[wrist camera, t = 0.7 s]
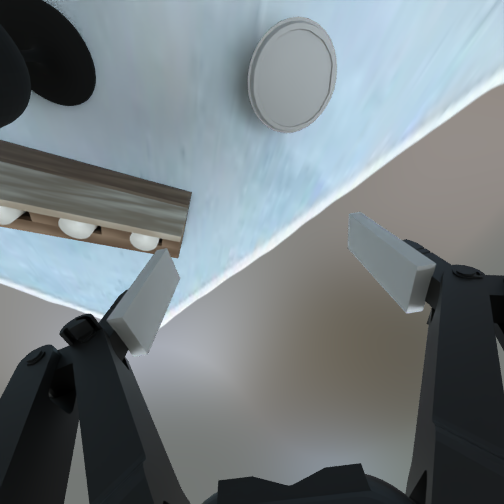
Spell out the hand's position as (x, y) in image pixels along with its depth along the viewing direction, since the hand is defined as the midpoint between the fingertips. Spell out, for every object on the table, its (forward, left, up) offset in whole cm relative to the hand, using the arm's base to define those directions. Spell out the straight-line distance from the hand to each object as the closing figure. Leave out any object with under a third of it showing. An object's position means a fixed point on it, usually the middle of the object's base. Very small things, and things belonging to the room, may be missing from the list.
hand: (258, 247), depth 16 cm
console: (+17, -22, -27) cm, 39 cm away
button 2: (+18, -12, -23) cm, 31 cm away
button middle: (+18, -22, -23) cm, 36 cm away
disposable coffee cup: (-10, +2, -28) cm, 29 cm away
